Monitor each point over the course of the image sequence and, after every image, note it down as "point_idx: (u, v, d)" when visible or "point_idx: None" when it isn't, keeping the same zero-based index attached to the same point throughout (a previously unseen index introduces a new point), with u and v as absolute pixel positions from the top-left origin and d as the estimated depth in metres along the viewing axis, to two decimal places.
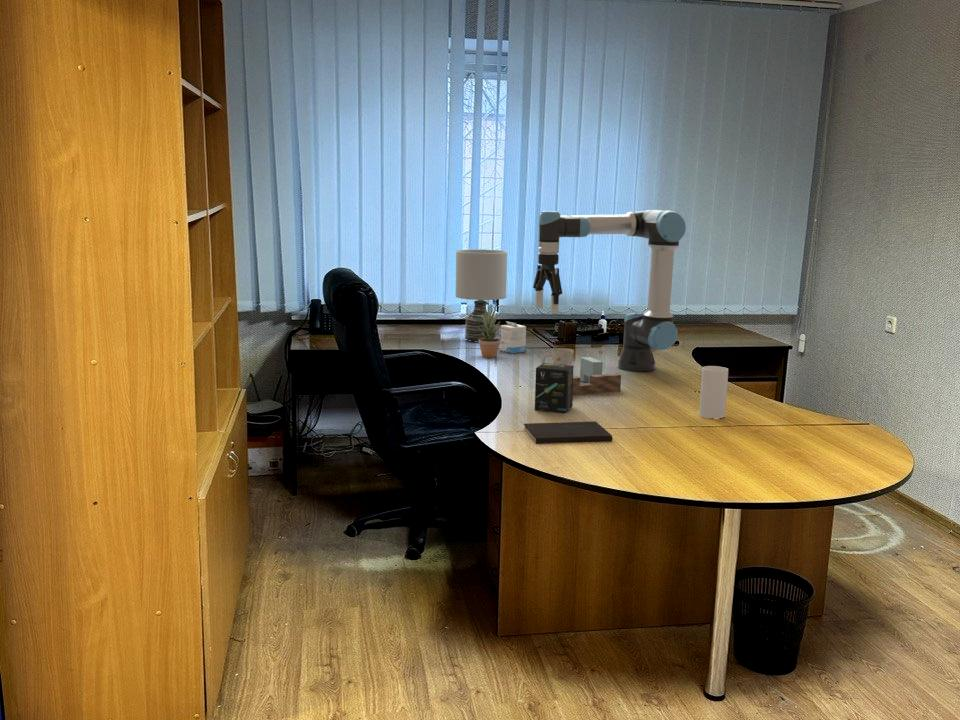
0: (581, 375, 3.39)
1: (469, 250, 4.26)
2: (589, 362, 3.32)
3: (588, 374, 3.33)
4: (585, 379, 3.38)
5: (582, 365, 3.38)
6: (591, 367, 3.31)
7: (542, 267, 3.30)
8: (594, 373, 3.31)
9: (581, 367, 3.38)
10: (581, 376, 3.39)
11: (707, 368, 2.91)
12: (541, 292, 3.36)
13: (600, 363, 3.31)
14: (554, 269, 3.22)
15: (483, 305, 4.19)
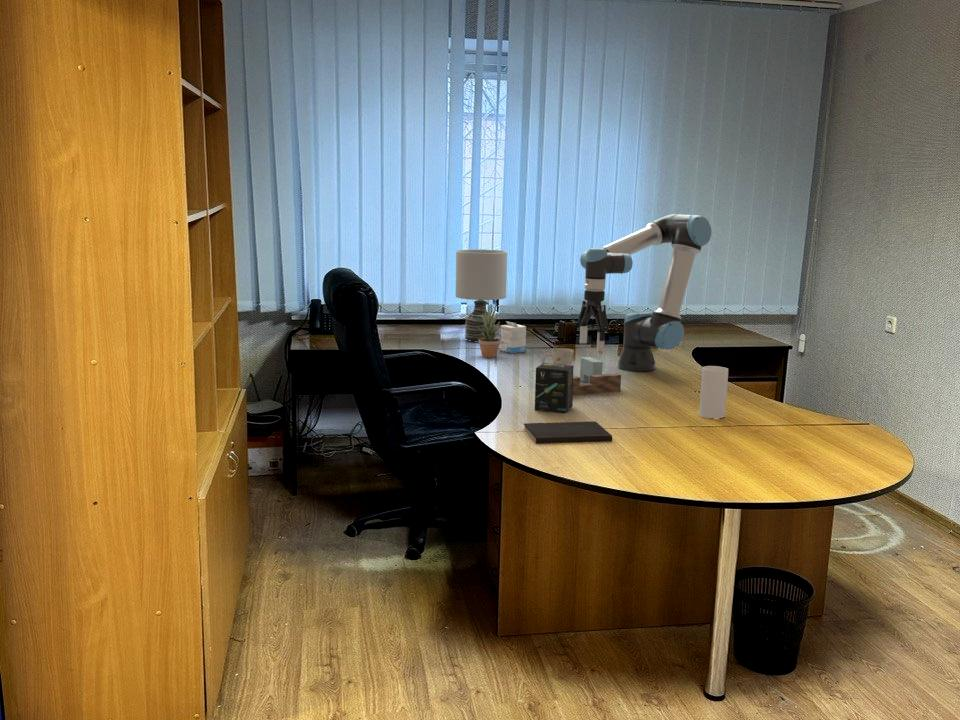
0: (581, 375, 3.39)
1: (469, 250, 4.26)
2: (589, 362, 3.32)
3: (588, 374, 3.33)
4: (585, 379, 3.38)
5: (582, 365, 3.38)
6: (591, 367, 3.31)
7: (588, 303, 3.32)
8: (594, 373, 3.31)
9: (581, 367, 3.38)
10: (581, 376, 3.39)
11: (707, 368, 2.91)
12: (585, 327, 3.38)
13: (600, 363, 3.31)
14: (601, 306, 3.24)
15: (483, 305, 4.19)
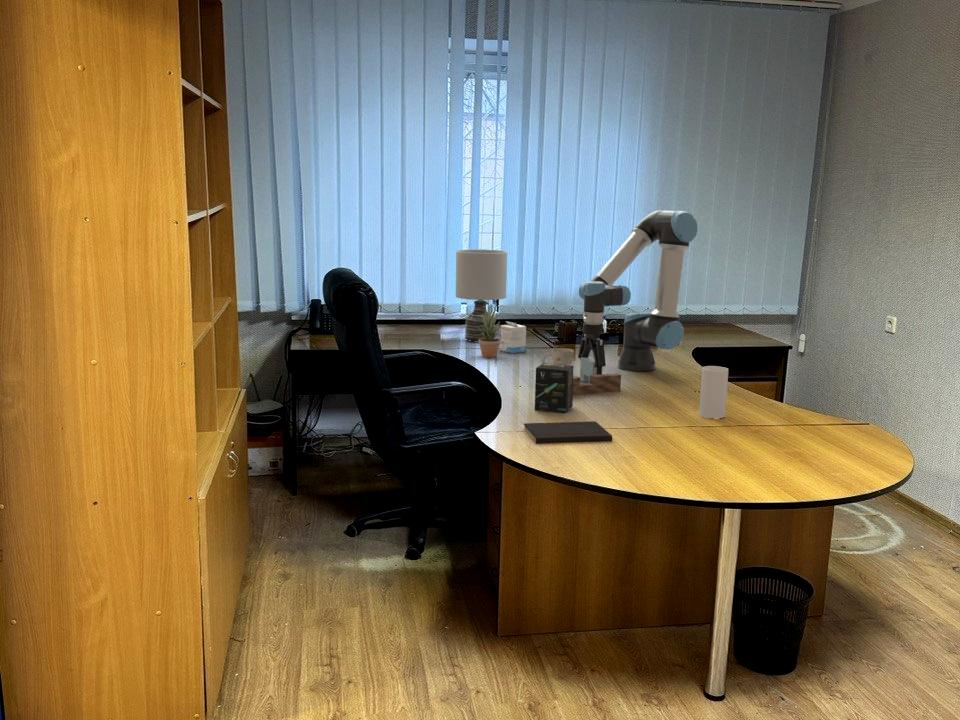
0: (581, 375, 3.39)
1: (469, 250, 4.26)
2: (589, 362, 3.32)
3: (588, 374, 3.33)
4: (585, 379, 3.38)
5: (581, 365, 3.38)
6: (591, 367, 3.31)
7: (586, 335, 3.35)
8: None
9: (581, 367, 3.38)
10: (581, 376, 3.39)
11: (707, 368, 2.91)
12: None
13: None
14: (599, 341, 3.27)
15: (483, 305, 4.19)
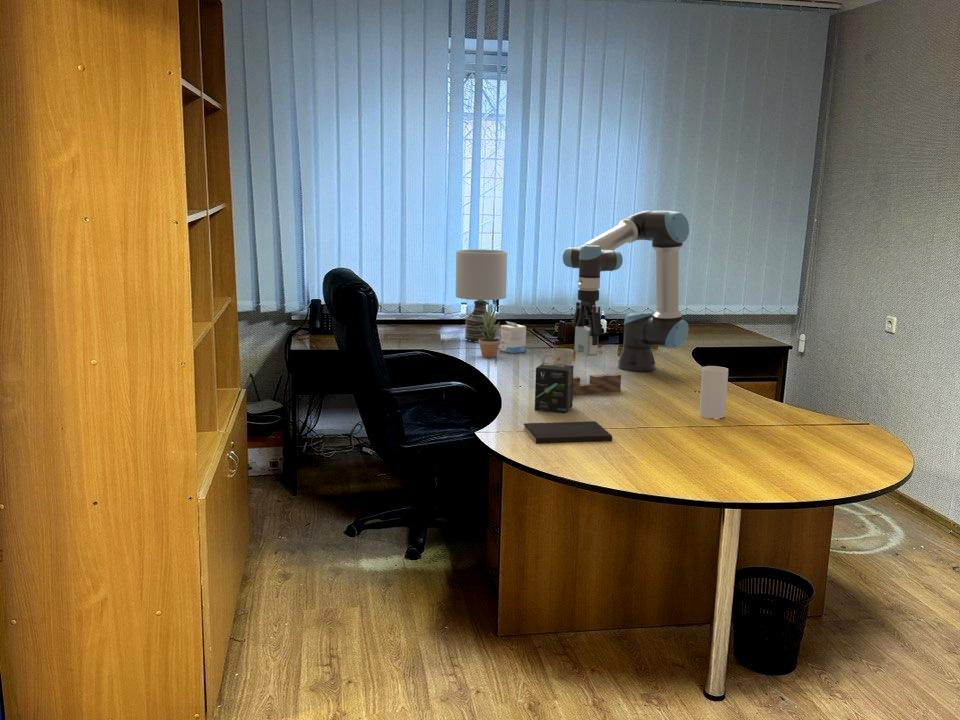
0: (576, 345, 3.19)
1: (469, 250, 4.26)
2: (584, 331, 3.13)
3: (583, 344, 3.14)
4: (580, 350, 3.19)
5: (576, 334, 3.19)
6: (586, 336, 3.11)
7: (581, 303, 3.16)
8: (589, 342, 3.11)
9: (576, 337, 3.19)
10: (576, 346, 3.20)
11: (707, 368, 2.91)
12: None
13: None
14: (595, 308, 3.08)
15: (483, 305, 4.19)
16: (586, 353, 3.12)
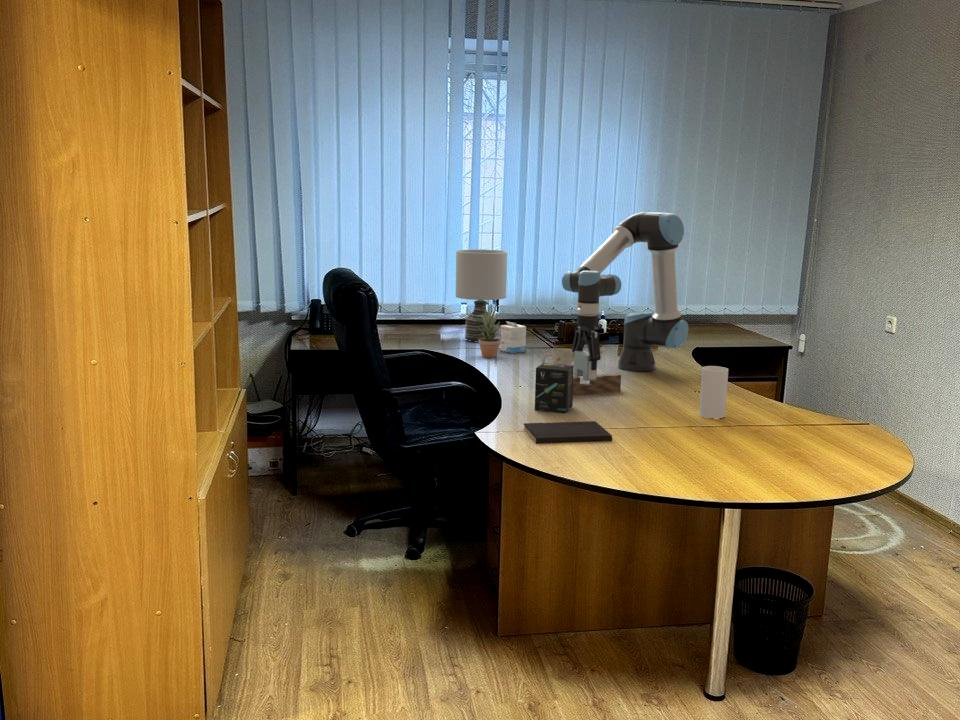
0: (575, 369, 3.21)
1: (469, 250, 4.26)
2: (583, 356, 3.15)
3: (582, 368, 3.16)
4: (579, 374, 3.21)
5: (575, 359, 3.20)
6: (585, 361, 3.13)
7: (580, 328, 3.18)
8: (588, 367, 3.13)
9: (575, 361, 3.21)
10: (575, 371, 3.21)
11: (707, 368, 2.91)
12: None
13: None
14: (594, 333, 3.09)
15: (483, 305, 4.19)
16: (585, 378, 3.14)
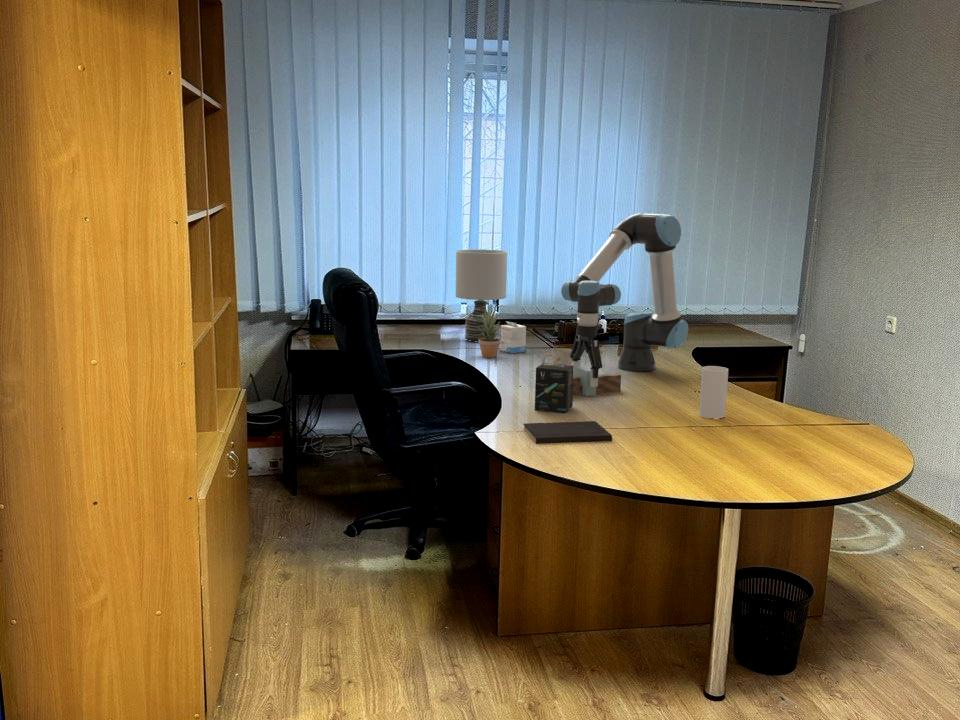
0: None
1: (469, 250, 4.26)
2: (583, 371, 3.16)
3: (581, 384, 3.17)
4: None
5: (575, 374, 3.22)
6: (585, 376, 3.14)
7: (580, 338, 3.18)
8: (588, 383, 3.14)
9: None
10: None
11: (707, 368, 2.91)
12: (578, 362, 3.24)
13: None
14: (594, 342, 3.10)
15: (483, 305, 4.19)
16: (585, 393, 3.15)
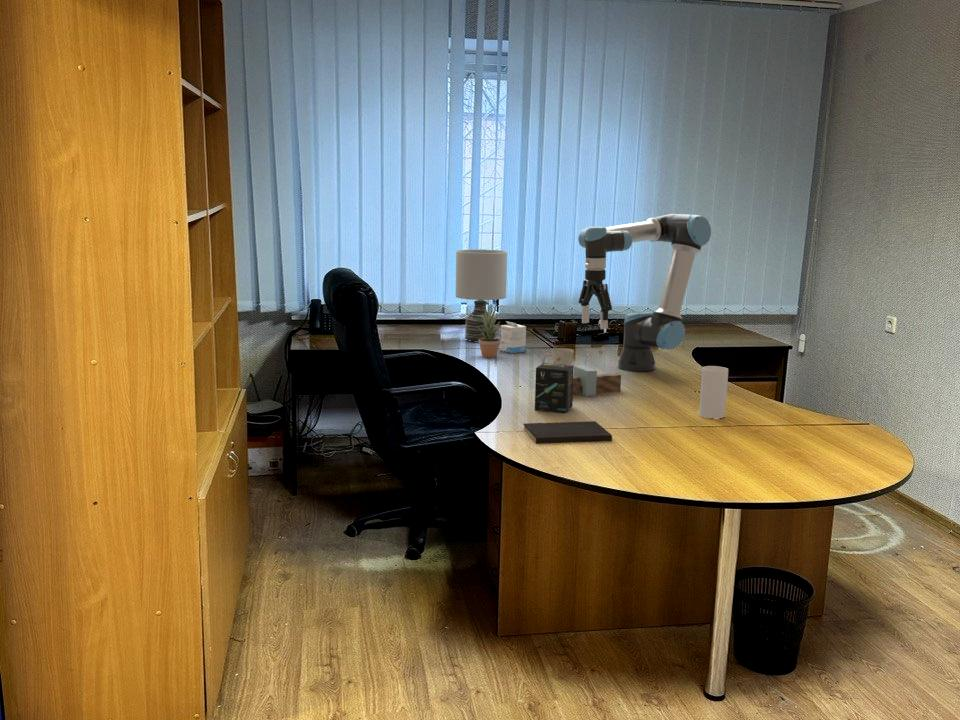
0: None
1: (469, 250, 4.26)
2: (583, 371, 3.16)
3: (581, 384, 3.17)
4: None
5: (575, 374, 3.22)
6: (585, 376, 3.14)
7: (589, 283, 3.29)
8: (588, 383, 3.14)
9: None
10: None
11: (707, 368, 2.91)
12: (587, 307, 3.36)
13: (594, 372, 3.14)
14: (603, 285, 3.21)
15: (483, 305, 4.19)
16: (585, 393, 3.15)
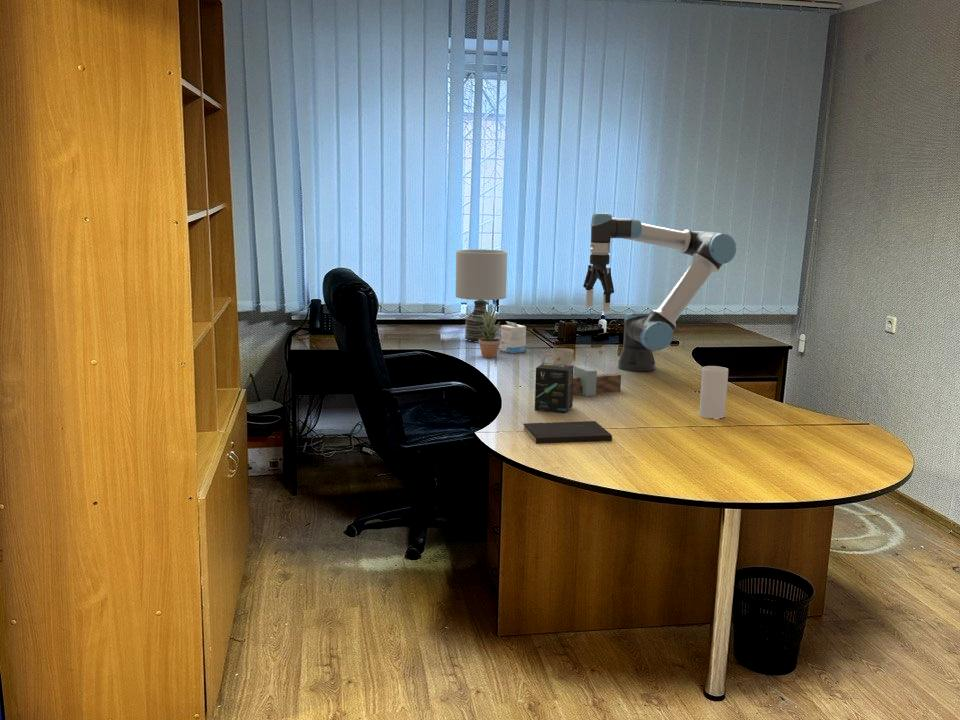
0: None
1: (469, 250, 4.26)
2: (583, 371, 3.16)
3: (581, 384, 3.17)
4: None
5: (575, 374, 3.22)
6: (585, 376, 3.14)
7: (593, 267, 3.42)
8: (588, 383, 3.14)
9: None
10: None
11: (707, 368, 2.91)
12: (591, 291, 3.48)
13: (594, 372, 3.14)
14: (606, 269, 3.33)
15: (483, 305, 4.19)
16: (585, 393, 3.15)
